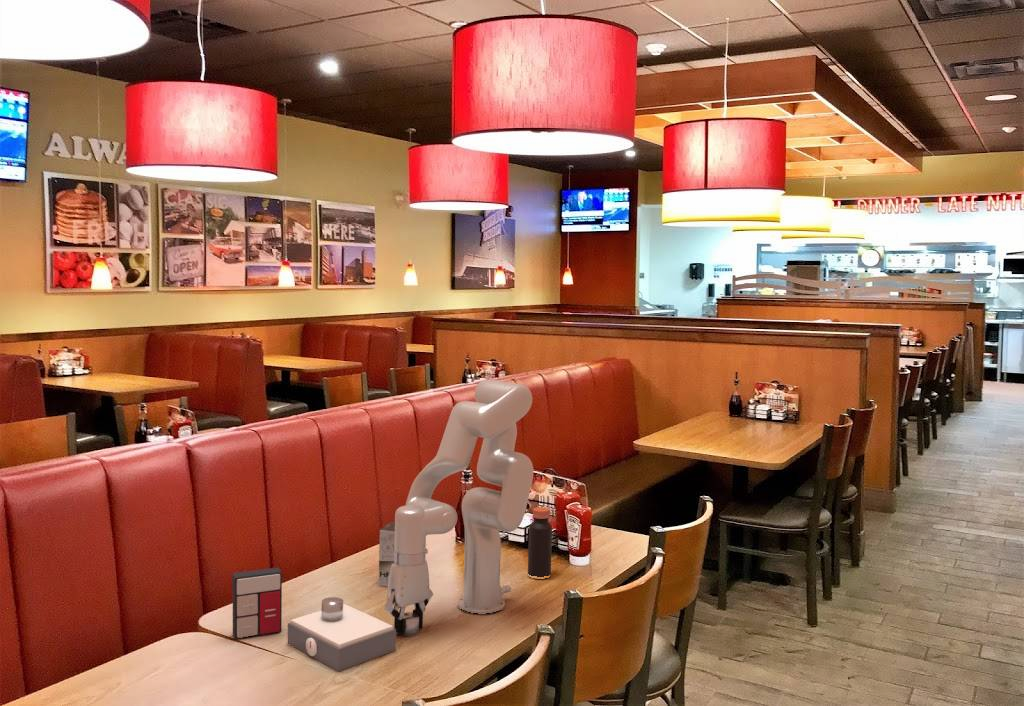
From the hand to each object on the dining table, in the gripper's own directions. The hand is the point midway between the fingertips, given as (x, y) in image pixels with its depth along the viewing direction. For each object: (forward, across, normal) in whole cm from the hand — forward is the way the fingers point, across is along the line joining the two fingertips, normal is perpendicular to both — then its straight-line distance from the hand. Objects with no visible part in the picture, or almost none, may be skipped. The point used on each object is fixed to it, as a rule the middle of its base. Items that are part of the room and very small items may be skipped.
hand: (408, 629), depth 212 cm
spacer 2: (+1, 0, 0) cm, 1 cm away
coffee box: (+1, -20, -30) cm, 36 cm away
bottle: (+1, -54, -5) cm, 54 cm away
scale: (+1, +17, -4) cm, 17 cm away
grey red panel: (+1, +27, -24) cm, 36 cm away
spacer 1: (-5, +17, -8) cm, 19 cm away
